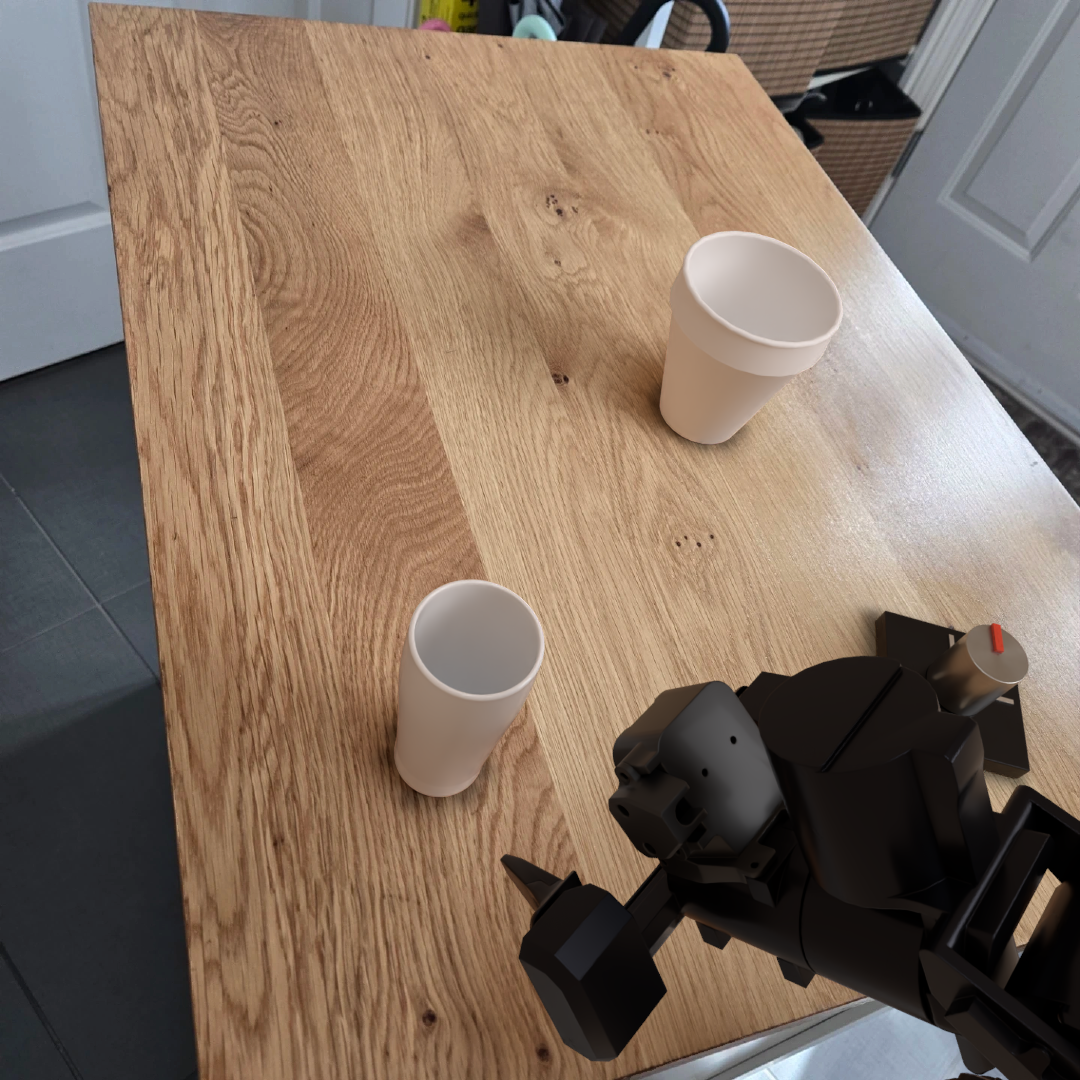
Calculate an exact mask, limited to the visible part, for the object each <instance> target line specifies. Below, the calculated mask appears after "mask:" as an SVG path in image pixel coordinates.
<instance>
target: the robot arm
mask: <svg viewBox="0 0 1080 1080" xmlns="http://www.w3.org/2000/svg"><path fill="white" fill-rule="evenodd" d="M983 760H984V749H983V744H982V740H981V736H980V732H979V728H978V724H977V722H975V721H974V720H973V719H972V718H970V717H967V716H962V715H957V714H951V713H946V712H941V710H940V706H939V702H938V698H937V695H936V692H935V691H934V689H933V687H932V686H931V684H930V683H929V681H927V680H926V679H925V678H924V677H922V676H921V675H920V674H919V673H917V672H915V671H913V670H911V669H909V668H907V667H904V666H902V665H901V663H900V661H899V660H897V659H892V658H887V657H880V656H877V655H874V656H873V655H855V656H854V655H853V656H844V657H843V656H842V657H839V658H835V659H830V660H826V661H823V662H822V661H821V662H819V663H817V664H814V665H812V666H808V667H806V668H803V669H802V670H801V671H799V672H797V673H795V674H793V675H786V674H780V673H775V672H770V671H764V670H762V671H761V672H760V673H759V674H758V675H757V676H756V677H755V679H753V681H752V682H751V683H750V684H749V685H742V686H739V687H737V688H736V689H735V690H733V688H732V687H731V686H730V685H729V684H727V683H725V682H724V681H721V680H710V681H705V682H700V683H695V684H690V685H689V684H688V685H685V686H678V687H675V688H669V689H665V690H663V691H662V692H660V693H659V694H658V695H657V696H656V697H655V698H654V701H653V703H652V704H651V705H649V707H648V708H647V709H646V710H645V711H644V712H643V713H642V714H641V715H640V716H639V717H638V718H637V719H636V720H635V721H634V722H633V723H632V724H631V725H630V726H629V727H627V728H626V729H624V730H623V731H622V732H621V733H620V734H619V735H618V736H617V738H616V739H615V741H614V744H613V747H612V762H613V764H614V768H613V769H614V771H613V772H614V775H615V776H616V779H617V780H618V786H617V789H616V790H615V791H614V792H613V793H612V795H610V797H609V798H608V800H607V801H608V802H607V806H608V812H610V814H611V815H612V817H613V818H614V820H615V821H616V823H617V824H618V825H619V827H620V828H621V829H622V831H623V832H624V834H625V836H626V837H627V838H628V839H629V841H630V843H631V844H632V845H633V847H634V848H635V849H636V850H637V852H639V853H640V854H641V855H643V856H645V857H646V858H648V859H657V860H658V862H659V863H658V864H657V865H656V866H655V868H654V869H653V871H651V872H650V874H649V875H648V876H647V877H646V879H645V880H644V881H643V882H642V883H641V884H640V886H639V887H638V888H637V889H636V890H635V892H634V893H633V894H632V895H631V896H630V898H629V899H627V901H626V902H625V904H624V905H623V904H622V903H621V902H620V901H619V900H618V899H617V897H615V896H614V895H613V894H612V893H611V892H610V891H609V890H606V889H605V888H603V887H600V886H598V885H595V884H593V883H591V882H590V883H589V882H588V883H586V884H583V883H582V881H581V878H580V877H579V874H578V873H577V871H576V870H575V869H573V870H571V871H570V872H569V873H568V874H567V875H566V877H564V879H562V878H561V877H559V876H557V875H554V874H553V873H552V872H549V871H547V870H545V869H543V868H541V867H540V866H538V865H536V864H534V863H532V862H530V861H528V860H526V859H524V858H522V857H519V856H516V855H512V854H508V853H504V854H503V855H502V856H501V857H500V859H499V861H500V863H501V865H502V867H503V869H504V871H505V872H506V875H507V876H508V878H509V879H510V880H511V881H512V883H513V884H514V886H515V888H517V889H518V891H519V893H520V894H521V896H522V897H523V898H524V899H525V901H526V902H527V904H528V905H529V906H530V907H531V909H532V910H533V911H534V912H533V913H532V915H531V917H530V919H529V930H528V931H527V932H526V933H525V934H524V935H523V936H522V939H521V944H520V948H519V953H518V960H519V962H520V964H521V966H522V968H523V970H524V972H525V973H526V975H527V978H528V979H529V981H530V983H531V985H532V987H533V988H534V990H535V992H536V994H537V996H538V998H539V1000H540V1002H541V1004H542V1005H543V1007H544V1009H545V1011H546V1013H547V1015H548V1017H549V1019H550V1020H551V1022H552V1024H553V1026H554V1028H555V1030H556V1031H557V1034H558V1036H559V1037H560V1039H561V1041H562V1043H563V1044H564V1045H565V1046H567V1047H568V1048H570V1049H571V1050H572V1051H575V1052H576V1053H577V1054H579V1055H581V1056H582V1057H584V1058H585V1059H587V1060H589V1061H590V1062H598V1063H599V1062H603V1063H609V1062H611V1061H614V1060H615V1059H617V1058H618V1057H619V1056H620V1055H621V1053H622V1052H623V1051H624V1050H625V1048H626V1047H627V1046H628V1044H629V1043H630V1042H631V1040H632V1039H633V1038H634V1037H635V1035H636V1033H637V1032H638V1031H639V1030H640V1029H641V1028H642V1026H643V1025H644V1023H645V1022H646V1020H647V1019H648V1018H649V1017H650V1015H651V1014H652V1012H653V1011H654V1010H655V1009H656V1007H657V1006H658V1005H659V1003H661V1001H662V1000H663V998H664V997H665V995H666V994H667V993H668V989H667V986H666V984H665V981H664V980H663V978H662V976H661V975H662V974H661V973H660V971H659V969H658V967H657V965H656V963H655V960H654V956H655V955H656V954H657V953H658V951H659V950H660V949H661V948H662V946H663V945H664V944H665V942H666V941H667V940H668V939H669V937H670V936H671V935H672V933H673V932H674V931H675V930H676V929H677V928H678V926H679V925H680V923H681V922H682V921H683V920H684V918H688V919H690V920H693V921H694V922H695V925H696V927H697V929H698V932H699V934H700V936H701V939H702V942H704V943H705V944H708V945H709V946H712V947H714V948H716V949H719V950H720V951H723V950H724V949H725V948H726V946H727V945H728V943H729V942H730V940H731V939H733V938H734V939H735V940H738V941H740V942H742V943H744V944H746V945H750V946H752V947H754V948H756V949H758V950H760V951H763V952H765V953H767V954H770V955H772V956H774V957H775V959H776V961H777V964H778V966H779V969H780V971H781V974H782V976H783V979H784V980H786V981H788V982H790V983H793V984H795V985H797V986H799V987H801V988H804V989H807V988H808V986H809V985H810V984H811V982H812V981H813V979H814V977H815V976H816V975H817V976H820V977H822V978H825V979H827V980H829V981H831V982H833V983H836V984H838V985H840V986H843V987H845V988H847V989H849V990H852V991H854V992H856V993H858V994H860V995H863V996H865V997H868V998H870V999H872V1000H874V1001H876V1002H879V1003H881V1004H883V1005H885V1006H887V1007H891V1008H892V1009H895V1010H897V1011H900V1012H902V1013H904V1014H906V1015H909V1016H911V1017H913V1018H915V1019H917V1020H920V1021H922V1022H923V1023H926V1024H928V1025H931V1026H933V1027H936V1028H938V1029H940V1030H941V1031H944V1032H947V1033H949V1034H953V1035H954V1037H955V1040H956V1043H957V1047H958V1050H959V1054H960V1056H961V1060H962V1063H963V1065H964V1067H965V1068H966V1070H968V1071H969V1072H960V1073H959V1074H958V1077H951V1078H946V1079H945V1080H1003V1079H1002V1078H1001V1077H997V1076H996V1077H995V1076H990V1075H985V1074H986V1073H989V1072H990V1071H992V1070H994V1069H997V1070H998V1072H1000V1073H1001V1075H1002V1076H1003V1077H1005V1079H1006V1080H1080V820H1079V819H1078V818H1076V817H1075V816H1074V815H1072V814H1070V812H1068V811H1067V810H1065V809H1063V808H1062V807H1060V806H1059V805H1058V804H1056V803H1054V802H1053V801H1052V800H1050V799H1049V798H1047V797H1046V796H1045V795H1044V794H1042V793H1040V791H1038V790H1036V789H1035V788H1033V787H1031V786H1029V785H1026V784H1019V785H1016V786H1015V788H1014V789H1013V791H1012V792H1011V795H1010V796H1009V798H1008V800H1007V802H1006V803H1005V805H1004V806H1003V808H1002V810H1001V812H998V811H994V810H993V805H992V802H991V798H990V794H989V789H988V785H987V782H986V777H985V773H984V772H985V771H984V770H983ZM1047 871H1049V872H1050V873H1051V874H1052V875H1053V876H1054V877H1055V878H1056V879H1057V880H1058V882H1060V884H1059V885H1057V886H1056V887H1055V889H1054V890H1053V893H1052V894H1051V896H1050V898H1049V900H1048V902H1047V904H1046V906H1045V908H1044V910H1043V911H1042V913H1041V915H1040V917H1039V918H1038V919H1039V920H1038V922H1037V923H1036V925H1035V927H1034V930H1033V931H1032V933H1031V935H1030V937H1029V939H1028V941H1027V943H1026V945H1025V947H1024V949H1023V951H1022V953H1021V954H1019V951H1018V947H1017V944H1016V940H1015V936H1014V935H1015V931H1016V929H1017V928H1018V927H1019V924H1020V922H1021V920H1022V918H1023V916H1024V914H1025V912H1026V910H1027V909H1028V907H1029V905H1030V903H1031V901H1032V899H1033V897H1034V896H1035V894H1036V892H1037V890H1038V888H1039V886H1040V884H1041V883H1042V881H1043V878H1044V876H1045V874H1046V872H1047Z"/></svg>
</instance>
